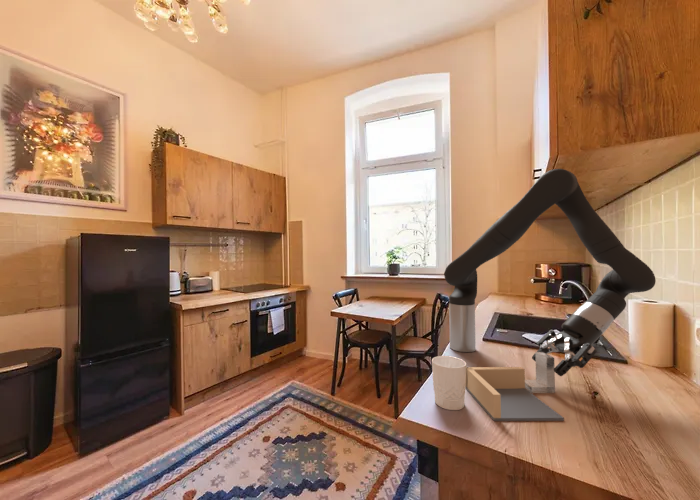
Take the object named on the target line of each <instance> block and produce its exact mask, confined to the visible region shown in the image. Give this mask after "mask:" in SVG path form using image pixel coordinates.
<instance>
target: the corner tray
mask: <svg viewBox="0 0 700 500" xmlns="http://www.w3.org/2000/svg"><path fill="white" fill-rule="evenodd" d="M525 373H526V370H525V368H523V367H522V366H495V367H494V366H487V367H483V366H478V367H477V366H472V367H471V366H469V367H467V366H466V387H465V390H466V391H467V392H468V393H469V394H470V395H471V396H472V398H473V399H474V400H475V401H476V402H477V403H478V404H479V405H480V407H481V408H482V409H483V410H484V411H485V412H486V413H487V415H488V416H489V417H490V418H491V419H492V420H493V421H494V422H537V421H539V422H546V421H547V422H548V421H549V422H550V421H551V422H553V421H554V422H555V421H556V422H559V421H560V422H562V421H565V418H564V417H563V416H562V415H561V414H559V413H558V412H557V411H555V410H554V409H553V408H551V407H550V406H549V405H547V403H545V402H543V401H542V400H541V399H540V398H538V396H536V395H535V394H534V393H531V392H530V391H528V390H527V389H526V388H525V380H526V374H525Z"/></svg>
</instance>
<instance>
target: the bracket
mask: <svg viewBox="0 0 700 500" xmlns="http://www.w3.org/2000/svg"><path fill="white" fill-rule="evenodd" d="M534 354H535V355H536V362H535V379H525V389H526V390H528V391H529V392H530V393H532V394H555V393H556V377H555V376H556V375H555V374H556V373H555V372H554V368H555V357H553V356H552V355H549V354H545V353H543V352H537V351H535V353H534Z"/></svg>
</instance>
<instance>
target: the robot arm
mask: <svg viewBox="0 0 700 500" xmlns="http://www.w3.org/2000/svg"><path fill="white" fill-rule="evenodd" d="M577 178H578V177H577V176H576V175H575V174H574V173H573V172H571V171H570V170H568V169H564V168H553V169H550V170H548V171H546V172H545V173H543V174H541V176H539V178H538V179H537V180H536V181H535V183H534V184H533V185H532V186H530V188H529V190H528V191H527V192H525V194H524V195H523V197H522V198H521V199H520V200H518V201H517V203H516V204H515V205H513V206H511V208H510V209H508V210H507V211H506V212H505V213H504V214H503V215H502V216H500V217H499V218H498V219H497V220H496V221H495V222H494V223H492V225H491V226H490V227H488V228H487V230H486V231H485V232H484V233H482V235H481V236H479V237H478V238H477V239H476V240H475V242H473V243H472V245H471V246H469V247H468V249H467V250H466V251H464V252H463V253H462V254H461V255H459V256H458V257H456V258H455V259H454V260H453V261H451V262H450V263H449V264H448V265H447V266H446V268H445V270H444V274H443V275H444V279H445V282H446V283H448V284H449V285H451V286H454V289H453V291H452V293H451V294H449V297H448V311H449V316H448V317H449V322H448V323H449V348H450V349H451V350H453V351H456V352H461V353H471V352H472V353H473V352H475V351H476V348H477V347H476V298H477V295H478V271H477V269H478V268H479V267H480V266H482V265H483V264H485V263H487V262H489V261H490V260H493V259H495V258H496V257H498V256H500V255H501V254H503V253H505V252H506V251H507V250H509V249H510V248H511V247H512V246H514V245H515V244H516V243H517V242H518V241H519V240H520V239H521V238H522V237H523V236H524V235H525V234H526V233H527V231H528V230H529V228H531V226H532V225H533V223H534V222H536V220H537V219H538V218H539V217H540V216H541V215H542V214H543V213H545V212H546V211H547V210H548V209H550V208H552V206H554V205H556V206H557V207H558V208H559V209H560V210H561V211H562V212H563V213H564V215H565V216H566V217H567V219H568V221H569V222H570V223H571V225H572V227H573V229H574V230H575V232H576V234H577V236H578V238H579V239H580V241H581V243H582V244H583V246H584V247H585V248H586V250H587V251H588V252H589V253H590V255H591V257H592V258H593V259H594V260H595V261H596V262H597V263H598V264H603V265H607V266H609V267H610V268H611V269H612V270H610V271H609V272H608V273H606V274H605V275H604V277H602V279H601V280H600V283H599V284H598V285H597V288H596V289H595V292H593V294H591V295H590V297H588V299H587V300H586V301H584V302H583V304H581V305H580V306H579V307H578V308H576V309H575V311H574V312H572V314H570V316H568V318H567V319H566V320H565V321H564V322H562V324H561V331H560V332H558V333H557V332H555V331H554V329H550V330H548V332H546V333H545V334H544V336H542V337H541V338H539V340H538V341H537V342H536V344H537V346H539V348H538V350H537V351H536V352H543V353H545V354H547V355H549V354H551V353H558V352H561V353H563V354H564V359H562V360H561V361H560V362H559V363H558V364H557V365H556V366H554V372H555V374H556V375H558V376H559V377H563V376H565V375H566V374H567V373H568V371H570V369H572V368H575V367H578V368H579V369H583V368H584V367H585V366H586V365H587V364H588V363H589V361H590V360H592V358H593V357H594V355H595V354H596V353H597V349H596V348H595V347H594V346H593V345H594V343H596V341H597V340H598V339H599V338H600V337H601V336H602V335H603V334H604V333H605V332H606V331H607V330H608V329H609V328H610V327H611V325H612V323H613V322H614V321H615V320H616V319H617V318H618V317H619V316H620V315H621V313H622V312H623V311H624V310H625V308H626V307H627V301H626V300H625V299H626V297H627V296H629V295H630V294H634V293H644V292H648V291H651V290H652V289H653V288H654V287H655V285H656V279H657V278H656V276H655V273H654V271H653V270H652V268H650V266H649V265H647V264H646V263H645V261H643V260H642V259H640V258H639V257H638V256H636V255H635V254H634V253H632V252H631V251H630V250H628V249H627V248H626V247H625V246H624V244H623V243H622V242H621V240H620V239H619V238H618V236H617V235H616V233H614V231H613V230H612V229H611V228H610V227H609V226H608V224H607V223H606V222H605V221H604V220H603V219H602V218H601V216H600V215H599V213H597V212H596V210H595V209H594V208H593V206H592V205H591V204H590V202H589V200H588V199H587V197H586V196H585V194H584V192H583V190H582V188H581V187H580V184H579V181H578V179H577ZM544 342H545V343H544ZM581 358H582V359H581ZM531 359H532V360H533V361H534V362H535V363H536V355H535V353H534V354H533V355H532V357H531ZM580 359H581V360H580Z"/></svg>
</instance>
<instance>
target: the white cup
mask: <svg viewBox="0 0 700 500" xmlns="http://www.w3.org/2000/svg"><path fill="white" fill-rule="evenodd" d="M466 367H467V362H466V361H465V360H464V359H462V358H458V357H455V356H450V355H438V356H434V357H432V359H431V368H432V369H431V370H432V371H431V372H432V385H433V392H434V393H433V394H434V403H435V404H436V405H437V406H439V407H440V408H442V409H444V410H448V411H458V410H463V408H464V407H465V394H466Z"/></svg>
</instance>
